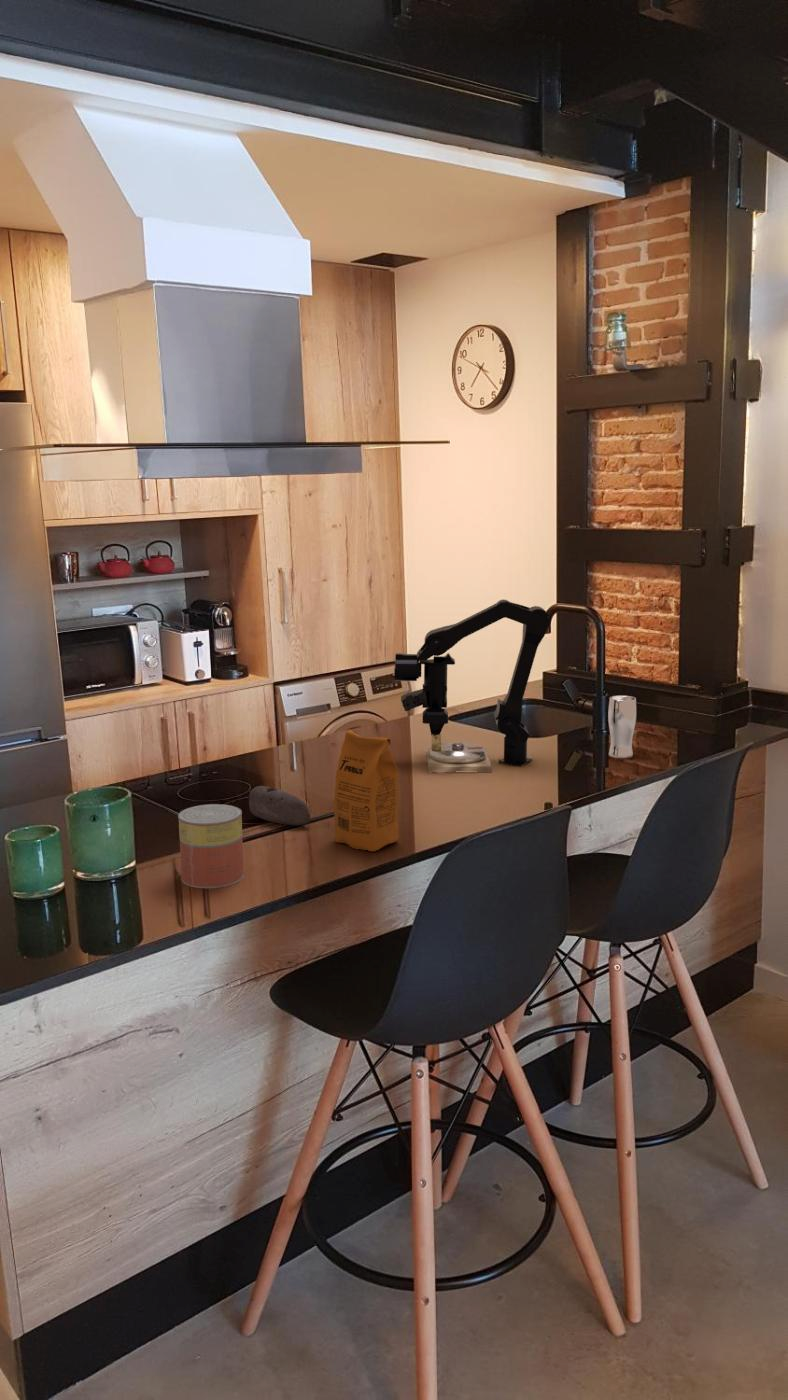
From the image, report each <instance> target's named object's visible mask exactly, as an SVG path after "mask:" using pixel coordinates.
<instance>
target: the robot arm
mask: <svg viewBox="0 0 788 1400" xmlns="http://www.w3.org/2000/svg"><path fill="white" fill-rule="evenodd" d="M505 618H506V619H509V620H512V621H515V622H517V623H518V624H519V623H520V624H522V637H521V638H522V639H521V640H522V641H521V644H520V649H519V651H518V654H517V658H516V663H515V666H514V669H513V673H512V677H511V680H510V684H509V687H508V690H507V694H506V696H505V697H504V698H503V700H501V699H499V698H498V699H497V704H496V709H495V710H494V712H493V716H494V719H495V723H496V726H497V729H498V731H499V732H500V733H501V734H502V735H505V736H504V738H503V758H501V759H499V760H498V761H497V762H499V764H503V763H504V764H505V765H510V764H512V766H516V765H518V767H522V765H523V766H524V764H525V765H526V763H527V764H528V763H531V762H533V758H529V757H528V756H527V755H528V739H529V737H530V733H529V731H528V728H527V726H526V725H525V724H524V723H523V722H522V715H523V713H522V712H523V711H522V710H523V699H524V695H525V692H526V689H527V686H528V682H529V679H530V675H531V671H532V668H533V663H534V661H535V657H536V654H537V650H538V647H539V646H540V644H541V643H542V641H543V639H544V637H545V635H546V634H547V632H548V629H549V627H550V624H551V617H550V615H549V613H548V612H547V611H546V610H545V609H544V608H543V607H541V606H539V605H538V606H537V605H533V606H531V607H529V606H525V605H523V604H518V603H515V602H511V601H509V600H508V599H499V600H498V601H497V602H496V603H494V604H493V605H491V606H488V607H486V608H484V609H482V610H481V611H478V612H476V613H475V614H472V615H471V616H469V617H465V618H464V619H462V620H460V621H459V622H455V623H453V624H449V625H444V626H441V627H437V628H435V629H432V630H429V631H428V632H427V633H426V635H425V637H424V643H423V645H421V647H420V648H419V649H418V651H417V652H416V653H415V654H414V653H413V654H412V653H402V652H401V653H400V652H396V653H395V659H394V660H395V663H394V673H393V675H394V677H393V679H394V682H418V679H420V678H422V665H423V684H422V688H420V689H417V690H415V691H411V692H408V693H404V694H402V695H401V696H400V700H401V704H402V707H403V709H404V712H409V711H411V710H412V709H415V708H419V707H421V706H422V707H421V708H422V709H424V710H423V711H422V724H426V725H427V724H428V725H429V730H430V735H431V737H432V734H435V733H437V734H441V732H442V731H443V728H444V726H445V725H447V724H449V713H448V710H446V708H448V696H447V695H448V665H451V666H453V665H456V661H455V658H453V657H452V656H451V654H450V653H449V652H448V653H446V652H447V651H449V650H451V649H452V648H453V647H454V646H455V645H457V644H459V642H461V640H463V639H464V638H466V637H469V636H471V635H472V634H475V633H477V632H478V631H480V630H482V629H485V628H486V627H488V626H490V625H492V624H494V623H497V622H498V621H500V620H502V619H505ZM445 653H446V654H445ZM444 654H445V655H444ZM443 655H444V656H443ZM432 657H433V658H432ZM431 658H432V659H431ZM504 764H503V765H504Z"/></svg>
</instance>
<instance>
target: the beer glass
mask: <svg viewBox="0 0 788 1400" xmlns="http://www.w3.org/2000/svg"><path fill="white" fill-rule="evenodd" d="M607 711H608V712H607V713H608V716H607V717H608V719H607V721H608V728H609V734H610V746H609V751H608V756H610V757H611V758H616V759H630V758H632V757H633V755H634V753H633V743H632V742H633V737H634V731H635V727H636V722H637V698H636V697H635V696H631V695H630V696H629V695H623V694H622V695H612V696H610V697H609V701H608V710H607Z"/></svg>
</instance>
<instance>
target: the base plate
mask: <svg viewBox="0 0 788 1400" xmlns="http://www.w3.org/2000/svg"><path fill="white" fill-rule="evenodd" d="M425 753H426V754H427V755H426V760H428V761H427V766H428V773H429V772H456V771H477V772H476V773H492V764H491V761H490V759H489V756H488V754H487V753H486V757H485V759H483V760H481V761H477V762H472V763H445V762H440V761H436V760H433V759H432V758H430V748H426V752H425Z"/></svg>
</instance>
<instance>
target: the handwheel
mask: <svg viewBox="0 0 788 1400" xmlns="http://www.w3.org/2000/svg"><path fill="white" fill-rule="evenodd" d="M429 749H430V758H432V759H433V760H436V761H440V762H445V763H472V762H477V761H481V760H483V759H485V757H486V754H487V747H485V746H483V745H481V744H477V743H473V742H464V741H463V742H460V741H453V742H452V741H451V742H442V734H441V733H440V734H437V733H435V734H432V736H431V747H429Z"/></svg>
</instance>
